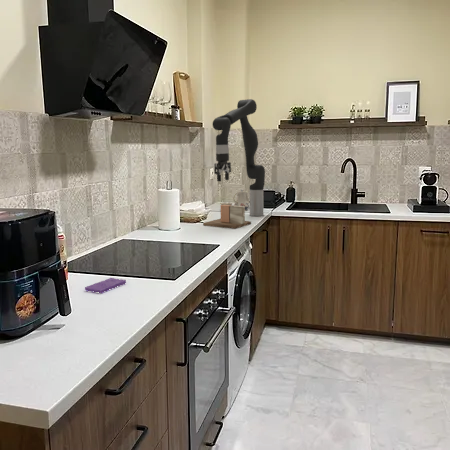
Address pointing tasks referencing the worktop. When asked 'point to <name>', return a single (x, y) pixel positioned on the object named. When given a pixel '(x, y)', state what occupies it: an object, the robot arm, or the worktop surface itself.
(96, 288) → the sponges
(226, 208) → the tan upright block
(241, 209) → the ticket stand
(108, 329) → the worktop surface
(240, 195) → the chinaware
